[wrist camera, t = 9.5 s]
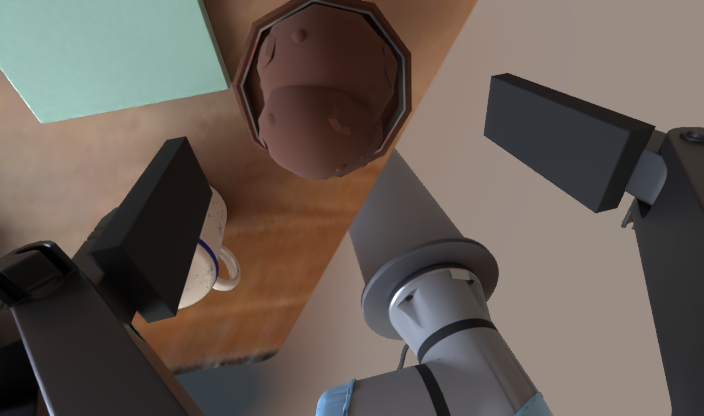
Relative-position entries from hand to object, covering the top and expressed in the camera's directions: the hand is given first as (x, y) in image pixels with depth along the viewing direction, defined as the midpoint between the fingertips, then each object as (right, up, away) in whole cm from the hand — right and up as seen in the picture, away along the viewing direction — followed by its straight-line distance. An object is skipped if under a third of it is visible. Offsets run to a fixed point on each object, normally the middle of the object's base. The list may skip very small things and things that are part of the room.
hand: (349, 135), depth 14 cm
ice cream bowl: (-3, +9, +13) cm, 16 cm away
